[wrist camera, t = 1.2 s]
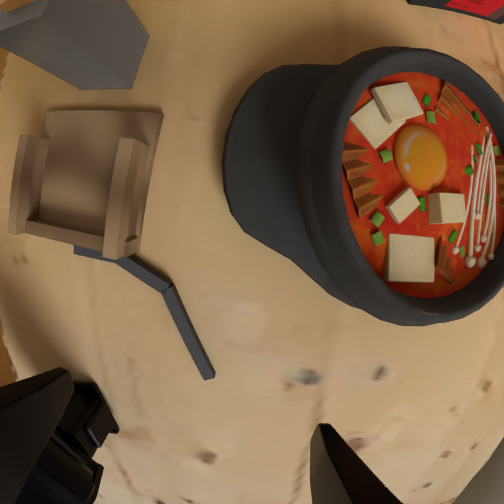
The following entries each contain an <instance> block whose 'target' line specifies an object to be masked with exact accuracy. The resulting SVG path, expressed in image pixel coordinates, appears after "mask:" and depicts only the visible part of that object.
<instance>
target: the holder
mask: <svg viewBox="0 0 504 504" xmlns="http://www.w3.org/2000/svg"><path fill="white" fill-rule="evenodd" d="M163 117H164V115H163V114H162V113H153V112H137V111H112V110H73V111H49V112H47V115H46V118H45V122H44V126H43V131H42V135H41V138H39V137H35V136H30V135H20V139H19V143H18V148H17V154H16V159H15V166H14V172H13V179H12V187H11V197H10V208H9V224H8V233H11V234H14V235H17V234H22V233H28V234H32V235H36V236H40V237H44V238H48V239H52V240H56V241H60V242H64V243H68V244H72V245H77V246H81V247H85V248H89V249H94V250H98V251H102V252H103V257H105V258H110V259H114V260H117V259H119V258H121V257H123V256H125V257H128V256H130V255H132V254H134V253H136V252H138V251H139V250H140V242H141V234H142V226H143V219H144V212H145V206H146V200H147V194H148V188H149V182H150V177H151V171H152V166H153V161H154V156H155V151H156V147H157V142H158V138H159V133H160V129H161V125H162V121H163Z"/></svg>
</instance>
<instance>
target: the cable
mask: <svg viewBox="0 0 504 504" xmlns="http://www.w3.org/2000/svg"><path fill="white" fill-rule="evenodd" d="M74 254H77V255H81V256H86V257H90V258H95V259H99V260H104V261H108V262H113V263H116V264H118V265H119V266H120V267H122V268H123V269H125V270H126V271H128V272H129V273H131V274H132V275H134V276H135V277H137V278H138V279H140V280H141V281H143V282H144V283H146V284H147V285H149V286H151V287H152V288H154V289H155V290H157V291H158V292H160V293H162V296H163V298H164V300H165V302H166V305H167V307H168V309H169V311H170V313H171V315H172V318H173V320H174V322H175V324H176V326H177V328H178V330H179V332H180V334H181V336H182V338H183V341H184V343H185V345H186V347H187V349H188V351H189V352H190V354H191V356H192V358H193V360H194V362H195V364H196V366H197V368H198V370H199V372H200V374H201V375H202V377H203V379H204V380H208V379H212V378H215V373H216V372H215V370H214V368H213V366H212V364H211V362H210V360H209V358H208V356H207V354H206V352H205V350H204V348H203V346H202V344H201V342H200V340H199V338H198V336H197V334H196V332H195V330H194V327H193V325H192V323H191V321H190V319H189V317H188V314H187V312H186V310H185V308H184V305H183V303H182V301H181V299H180V296H179V294H178V292H177V290H176V287H175V285H174V284H173V285H171V283H172V281H170V280H169V279H167V278H165V277H164V276H162V275H161V274H159V273H158V272H156V271H154V270H153V269H151V268H150V267H148V266H147V265H145V264H144V263H142V262H141V261H139V260H138V259H136V258H135V257H133V256H132V255H130V256H128V257H125V256H123V257H121V258H119V259H117V260H114V259H110V258H105V257H103V252H102V251H98V250H94V249H89V248H85V247H81V246H77V245H74Z"/></svg>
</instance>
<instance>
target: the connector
mask: <svg viewBox="0 0 504 504" xmlns="http://www.w3.org/2000/svg"><path fill="white" fill-rule="evenodd" d="M148 39H149V35H148V33H147V32H146V30H145V29H144V27H143V26H142V24H141V23H140V21H139V20H138V18H137V17H136V15H135V14H134V12H133V11H132V9H131V8H130V6H129V5H128V3H127V2H126V1H125V0H0V47H2V48H4V49H6V50H8V51H10V52H12V53H14V54H16V55H18V56H20V57H21V58H23V59H25V60H27V61H29V62H31V63H33V64H35V65H37V66H39V67H40V68H42V69H44V70H46V71H48V72H50V73H52V74H53V75H55V76H57V77H59V78H61V79H62V80H64V81H66V82H68V83H70V84H71V85H73V86H75V87H77V88H78V89H80V90H90V89H132V86H133V83H134V80H135V76H136V73H137V70H138V67H139V64H140V61H141V58H142V55H143V53H144V50H145V47H146V44H147V42H148Z"/></svg>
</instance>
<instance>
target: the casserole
mask: <svg viewBox="0 0 504 504" xmlns="http://www.w3.org/2000/svg"><path fill="white" fill-rule="evenodd" d="M222 169H223V185H224V192H225V195H226V199H227V202H228V206H229V209H230V213H231V214H232V216H233V217H234V218H235V220H236V221H237V222H238V224H239V225H240V227H241V228H242V229H243V231H244V232H245V233H247V234H248V235H250V236H252V237H253V238H255V239H256V240H258V241H259V242H261V243H263V244H264V245H266V246H267V247H269V248H271V249H273V250H275V251H276V252H278V253H280V254H282V255H283V256H285V257H287V258H289V259H290V260H292V261H293V262H294V263H295V264H296V265H297V266H298V267H300V268H301V269H302V270H303V271H304V272H305V273H306V274H307V275H308V276H310V277H311V278H312V279H313V280H314V281H315V282H316V283H317V284H318V285H320V286H321V287H322V288H323V289H324V290H325V291H326V292H327V293H328V294H330V295H331V296H333V297H335V298H337V299H339V300H340V301H342V302H344V303H346V304H348V305H349V306H352V307H355V308H359V309H362V310H363V311H365V312H367V313H369V314H370V315H372V316H374V317H376V318H378V319H379V320H382V321H386V322H390V323H393V324H397V325H400V326H427V325H431V324H436V323H445V322H449V321H453V320H457V319H461V318H464V317H466V316H468V315H470V314H471V313H473V312H475V311H477V310H479V309H480V308H482V307H483V306H484V305H485V304H486V303H488V302H489V301H490V300H491V299H492V298H494V297H495V295H496V294H497V293H498V292H499V291H500V289H501V288H502V287H503V286H504V103H503V101H502V100H501V98H500V97H499V95H498V94H497V93H496V92H495V91H494V90H493V88H492V87H491V86H490V85H489V84H488V83H487V82H486V81H485V80H484V79H483V78H482V77H481V76H480V75H479V74H477V73H476V72H475V71H474V70H472V69H471V68H470V67H469V66H467V65H466V64H464V63H462V62H460V61H459V60H457V59H455V58H453V57H451V56H449V55H447V54H444V53H440V52H437V51H434V50H430V49H421V48H409V47H381V48H376V49H372V50H368V51H364V52H361V53H360V54H358V55H356V56H354V57H352V58H350V59H349V60H347V61H345V62H343V63H342V64H341V65H333V66H332V65H312V64H301V65H282V66H280V67H278V68H275V69H273V70H271V71H268V72H266V73H264V74H263V75H262V76H261V77H260V78H259V79H258V80H257V81H255V82H254V83H253V84H252V85H251V86H250V87H249V88H248V90H247V91H246V93H245V94H244V96H243V98H242V99H241V101H240V102H239V104H238V106H237V107H236V109H235V111H234V114H233V116H232V119H231V122H230V125H229V127H228V130H227V133H226V137H225V144H224V152H223V159H222Z"/></svg>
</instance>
